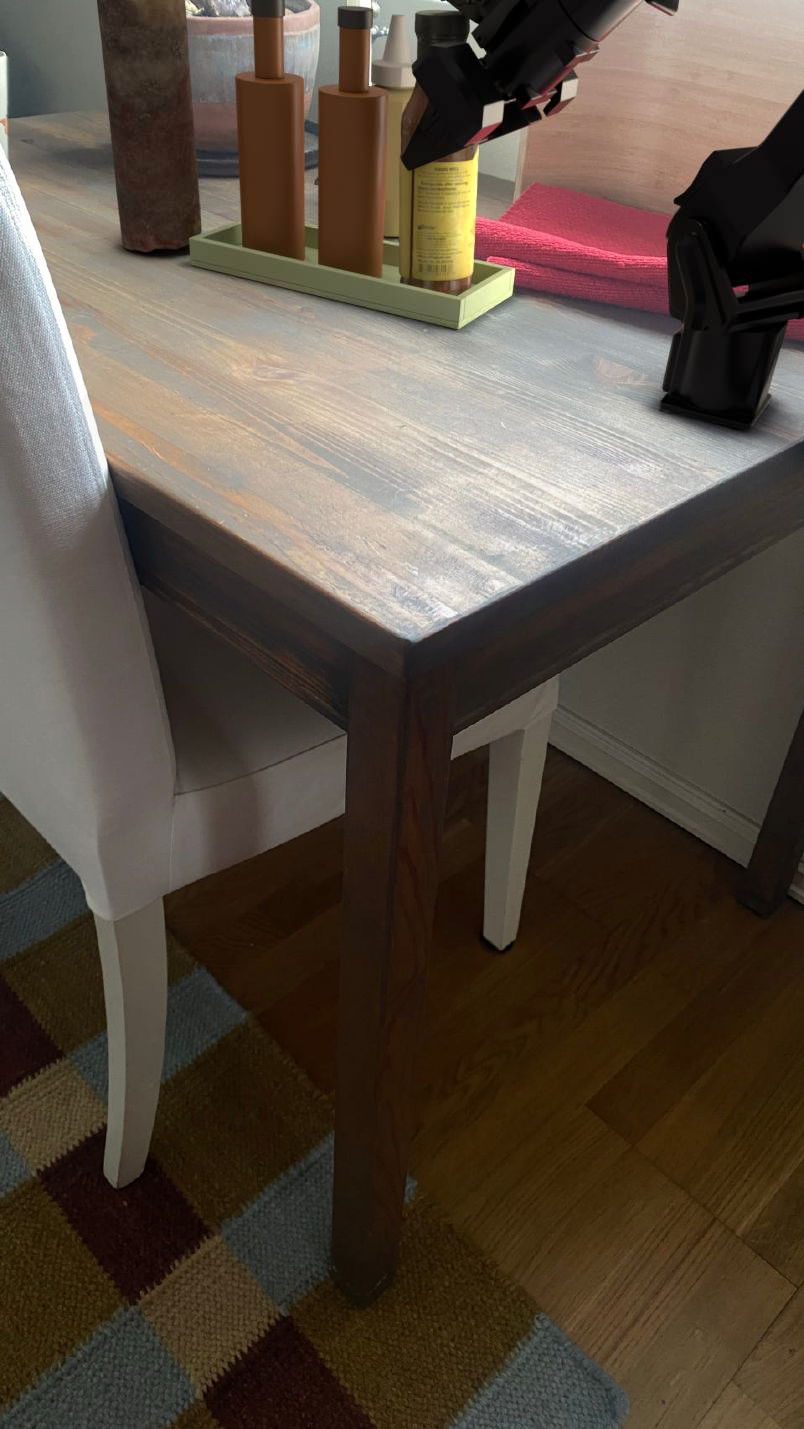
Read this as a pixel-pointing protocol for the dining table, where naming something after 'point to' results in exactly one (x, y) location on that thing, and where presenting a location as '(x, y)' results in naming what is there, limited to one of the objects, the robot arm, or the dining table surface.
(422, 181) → the sauce bottle
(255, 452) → the dining table surface
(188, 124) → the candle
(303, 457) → the dining table surface
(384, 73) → the squeeze bottle
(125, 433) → the dining table surface
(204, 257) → the bottle tray
